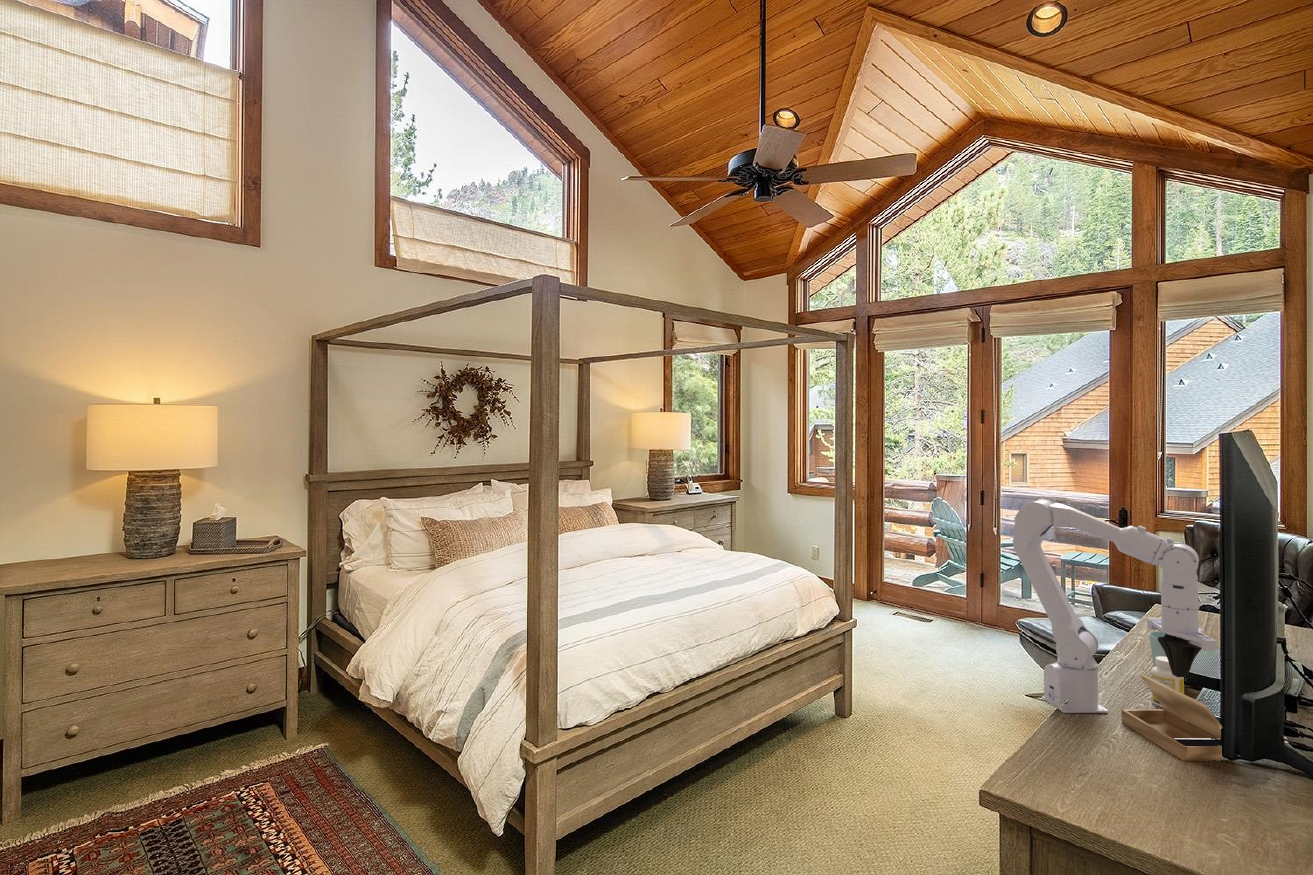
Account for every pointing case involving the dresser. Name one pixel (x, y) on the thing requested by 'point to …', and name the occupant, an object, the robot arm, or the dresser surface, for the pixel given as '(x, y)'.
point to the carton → (1171, 733)
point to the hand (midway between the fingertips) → (1180, 675)
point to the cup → (1156, 645)
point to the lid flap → (1184, 707)
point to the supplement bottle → (1166, 677)
